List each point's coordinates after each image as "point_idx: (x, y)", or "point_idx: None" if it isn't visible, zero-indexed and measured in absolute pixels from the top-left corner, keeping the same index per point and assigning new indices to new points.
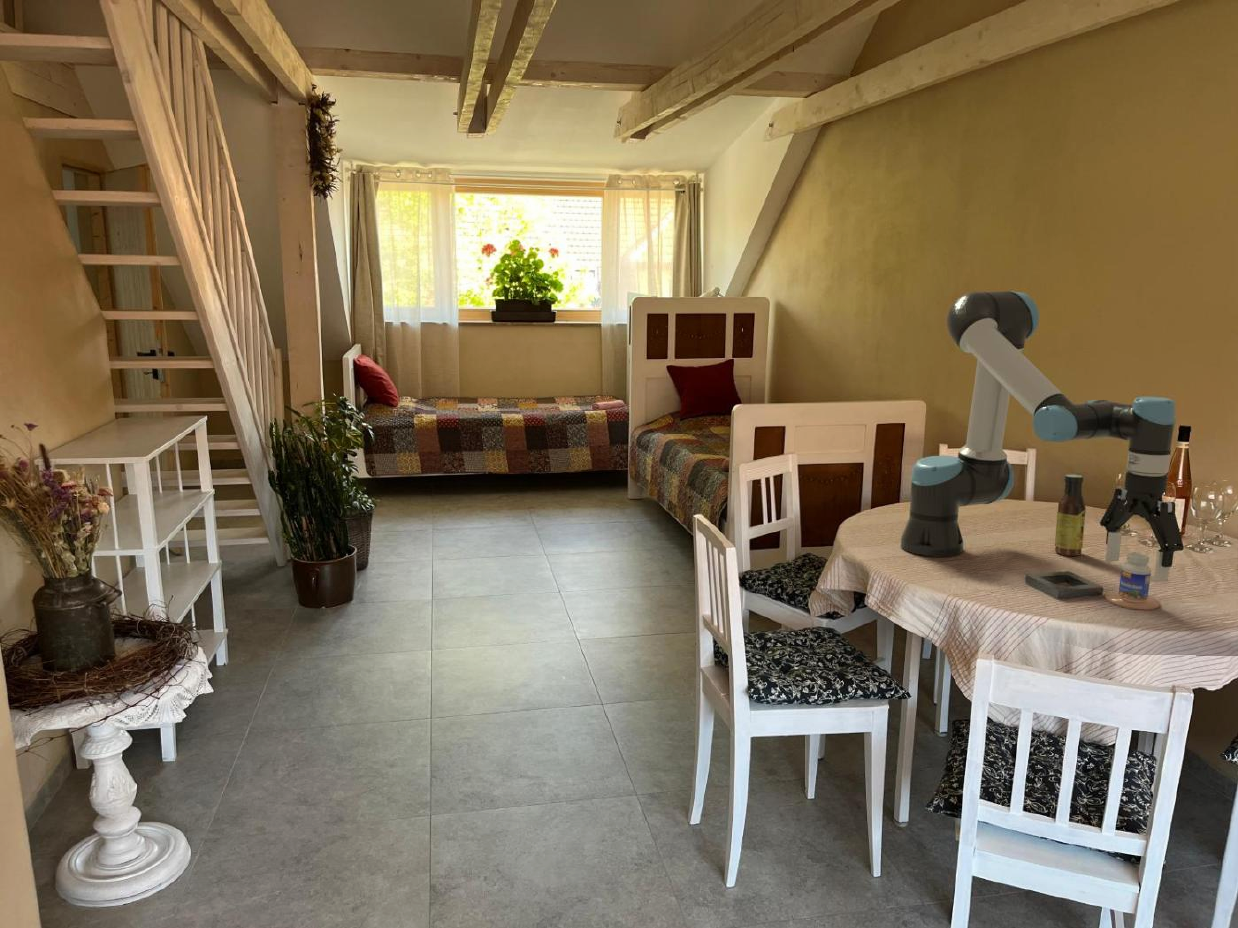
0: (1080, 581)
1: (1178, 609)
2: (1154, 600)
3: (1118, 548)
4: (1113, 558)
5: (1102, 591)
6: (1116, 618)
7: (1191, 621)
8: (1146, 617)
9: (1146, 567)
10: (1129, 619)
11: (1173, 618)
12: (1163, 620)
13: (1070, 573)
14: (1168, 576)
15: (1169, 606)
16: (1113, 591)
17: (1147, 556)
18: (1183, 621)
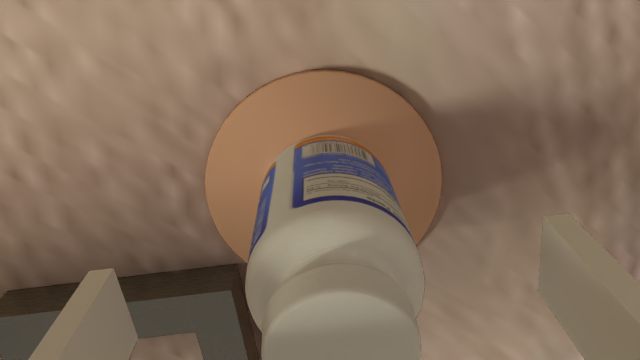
0: (140, 335)
1: (459, 25)
2: (357, 96)
3: (76, 345)
4: (120, 319)
5: (235, 278)
6: (492, 343)
7: (614, 75)
8: (513, 237)
9: (399, 276)
10: (514, 308)
11: (556, 134)
12: (563, 192)
13: (22, 327)
14: (584, 229)
15: (411, 43)
16: (214, 215)
17: (378, 308)
18: (601, 113)
